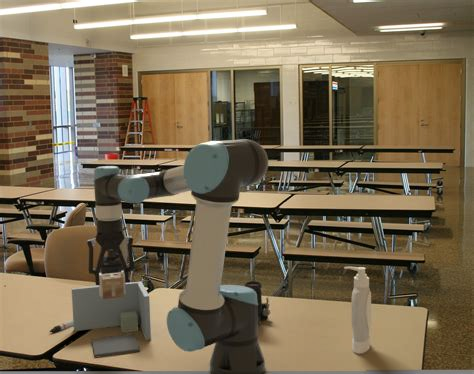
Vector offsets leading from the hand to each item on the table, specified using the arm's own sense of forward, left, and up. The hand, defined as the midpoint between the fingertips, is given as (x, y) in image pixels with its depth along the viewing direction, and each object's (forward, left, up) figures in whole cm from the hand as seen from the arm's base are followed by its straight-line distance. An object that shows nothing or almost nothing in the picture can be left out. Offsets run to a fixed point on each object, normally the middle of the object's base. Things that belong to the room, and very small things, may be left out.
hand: (112, 293), depth 189 cm
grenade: (+46, -5, -17) cm, 49 cm away
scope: (+5, -47, -17) cm, 50 cm away
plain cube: (+14, -6, -17) cm, 23 cm away
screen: (+10, -1, -16) cm, 19 cm away
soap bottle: (-25, -69, -17) cm, 75 cm away
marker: (+23, +13, -17) cm, 32 cm away
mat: (0, 0, -16) cm, 16 cm away
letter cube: (0, 0, 0) cm, 0 cm away
